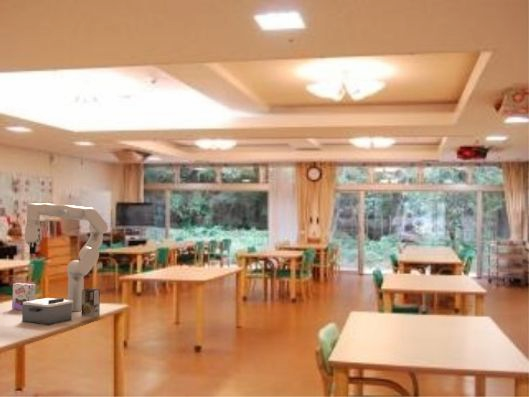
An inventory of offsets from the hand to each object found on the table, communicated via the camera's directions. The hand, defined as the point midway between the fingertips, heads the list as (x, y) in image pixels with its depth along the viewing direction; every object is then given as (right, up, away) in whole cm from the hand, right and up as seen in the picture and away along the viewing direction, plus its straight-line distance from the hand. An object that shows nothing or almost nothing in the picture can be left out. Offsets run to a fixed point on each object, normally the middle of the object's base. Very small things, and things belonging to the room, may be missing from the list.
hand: (32, 253), depth 372 cm
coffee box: (+37, -38, -4) cm, 53 cm away
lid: (+17, -27, -22) cm, 39 cm away
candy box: (-12, -37, +15) cm, 42 cm away
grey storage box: (+17, -37, -22) cm, 46 cm away
